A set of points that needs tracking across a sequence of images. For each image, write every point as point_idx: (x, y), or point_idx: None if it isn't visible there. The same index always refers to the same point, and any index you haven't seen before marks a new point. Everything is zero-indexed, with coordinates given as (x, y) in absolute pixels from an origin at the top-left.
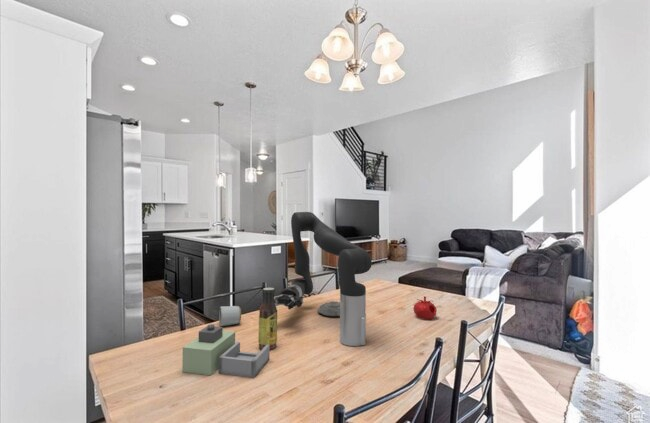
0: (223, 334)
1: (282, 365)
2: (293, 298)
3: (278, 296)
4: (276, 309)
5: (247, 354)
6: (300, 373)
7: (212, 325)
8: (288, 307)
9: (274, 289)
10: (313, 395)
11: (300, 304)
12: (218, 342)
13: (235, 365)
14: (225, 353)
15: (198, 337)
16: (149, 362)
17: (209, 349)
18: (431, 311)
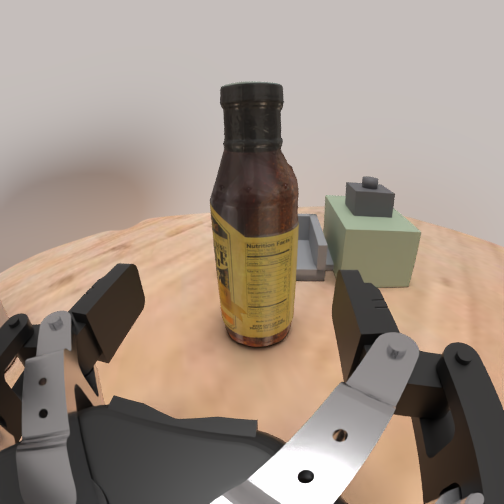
0: (362, 220)
1: (193, 267)
2: (34, 358)
3: (310, 430)
4: (213, 189)
5: None
6: (158, 255)
7: (366, 178)
8: (140, 287)
9: (220, 90)
10: (148, 231)
11: (17, 384)
12: (338, 205)
13: None
14: (314, 220)
15: (398, 212)
16: (448, 249)
17: (331, 196)
18: None
